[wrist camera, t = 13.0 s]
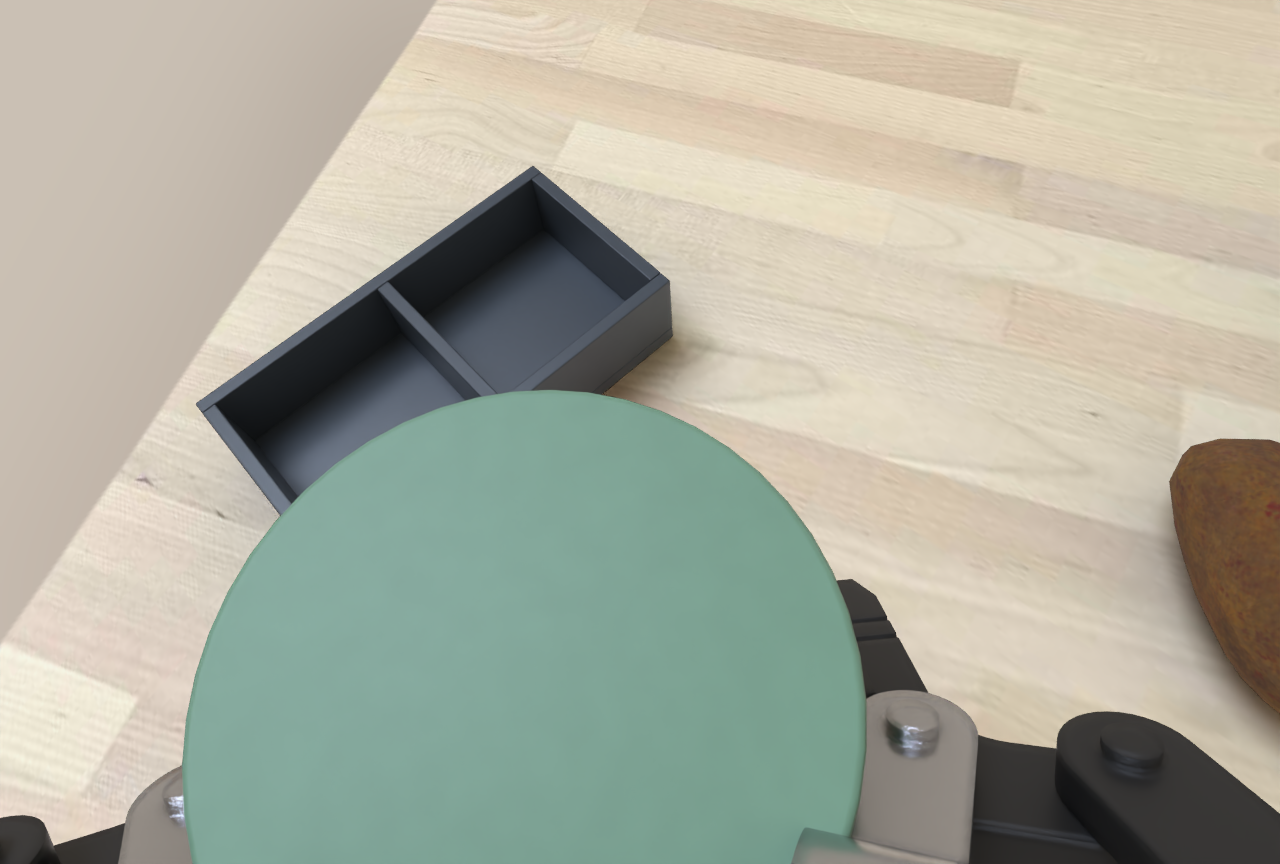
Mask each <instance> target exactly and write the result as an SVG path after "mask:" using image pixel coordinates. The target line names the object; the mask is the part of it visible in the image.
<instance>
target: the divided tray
mask: <svg viewBox="0 0 1280 864" xmlns="http://www.w3.org/2000/svg"><path fill="white" fill-rule="evenodd" d="M672 336H673V333H672V314H671V295H670V281H669V280H668V279H667V278H666V277H665V276H664V275H662V274H660V272H659V271H658V270H657V269H655V268H654V267H653V266H652V265H651V264H649V263H648V262H647V261H646V260H645V259H644V258H642V257H641V256H640V255H639V254H638V253H636V252H635V251H634V250H633V249H632V248H630V247H629V246H628V245H627V244H626V243H625V242H623V241H622V240H621V239H620V238H619V237H617V236H616V235H615V234H614V233H613V232H611V231H610V230H609V229H608V228H607V227H605V226H604V225H603V224H602V223H601V222H600V221H598V220H597V219H596V218H595V217H594V216H592V215H591V214H590V213H589V212H588V211H586V210H585V209H584V208H583V207H582V206H581V205H579V204H578V203H577V202H576V201H575V200H573V199H572V198H571V197H570V196H569V195H567V194H566V193H565V192H564V191H563V190H561V189H560V188H559V187H558V186H557V185H556V184H554V183H553V182H552V181H551V180H550V179H548V178H547V177H546V176H545V175H544V174H542V173H541V172H540V171H539V170H538V169H536V168H535V167H534V166H532V167H530V168H529V169H528V170H526V171H525V172H523V173H522V174H521V175H519V176H518V177H516V178H515V179H513V180H512V181H511V182H509V183H508V184H506V185H505V186H503V187H502V188H501V189H499V190H498V191H496V192H495V193H494V194H492V195H491V196H489V197H488V198H486V199H485V200H484V201H482V202H481V203H479V204H478V205H477V206H475V207H474V208H472V209H471V210H469V211H468V212H467V213H465V214H464V215H462V216H461V217H460V218H458V219H457V220H455V221H454V222H452V223H451V224H450V225H448V226H447V227H445V228H444V229H443V230H441V231H440V232H438V233H437V234H435V235H434V236H433V237H431V238H430V239H428V240H427V241H426V242H424V243H423V244H421V245H420V246H418V247H417V248H416V249H414V250H413V251H411V252H410V253H408V254H407V255H406V256H404V257H403V258H401V259H400V260H399V261H397V262H396V263H394V264H393V265H391V266H390V267H389V268H387V269H386V270H384V271H383V272H382V273H380V274H379V275H377V276H376V277H374V278H373V279H372V280H370V281H369V282H367V283H366V284H365V285H363V286H362V287H360V288H359V289H357V290H356V291H355V292H353V293H352V294H350V295H349V296H348V297H346V298H345V299H343V300H342V301H340V302H339V303H338V304H336V305H335V306H333V307H332V308H330V309H329V310H328V311H326V312H325V313H323V314H322V315H321V316H319V317H318V318H316V319H315V320H313V321H312V322H311V323H309V324H308V325H306V326H305V327H304V328H302V329H301V330H299V331H298V332H296V333H295V334H294V335H292V336H291V337H289V338H288V339H287V340H285V341H284V342H282V343H281V344H279V345H278V346H277V347H275V348H274V349H272V350H271V351H270V352H268V353H267V354H265V355H264V356H262V357H261V358H260V359H258V360H257V361H255V362H254V363H253V364H251V365H250V366H248V367H247V368H245V369H244V370H243V371H241V372H240V373H238V374H237V375H235V376H234V377H233V378H231V379H230V380H228V381H227V382H226V383H224V384H223V385H221V386H220V387H218V388H217V389H216V390H214V391H213V392H211V393H210V394H209V395H207V396H206V397H204V398H203V399H201V400H200V401H199V402H197V403H196V406H197V407H198V408H199V410H200V411H201V412H202V413H203V415H204V416H205V417H206V419H207V420H208V421H209V423H210V424H211V425H212V427H213V428H214V429H215V431H216V432H217V433H218V434H219V436H220V437H221V438H222V440H223V441H224V442H225V444H226V445H227V446H228V448H229V449H230V450H231V451H232V453H233V454H234V455H235V457H236V458H237V459H238V461H239V462H240V463H241V465H242V466H243V467H244V469H245V470H246V471H247V472H248V474H249V475H250V476H251V478H252V479H253V480H254V482H255V483H256V484H257V486H258V487H259V488H260V489H261V491H262V492H263V493H264V495H265V496H266V497H267V499H268V500H269V501H270V503H271V504H272V505H273V507H274V508H275V509H276V510H277V512H278V513H279V514H280V516H281V515H282V514H283V513H284V512H285V511H286V510H287V509H288V508H289V506H290V505H291V504H292V503H293V502H294V501H295V500H296V499H297V498H298V497H299V496H300V495H301V494H302V493H303V492H304V491H305V490H306V489H307V488H308V487H309V486H310V485H312V484H313V483H314V482H315V481H316V480H317V479H319V478H320V477H321V476H322V475H323V474H324V473H326V472H327V471H328V470H329V469H330V468H331V467H333V466H334V465H335V464H336V463H338V462H339V461H341V460H342V459H343V458H345V457H346V456H348V455H349V454H351V453H352V452H354V451H355V450H357V449H358V448H360V447H361V446H362V445H364V444H365V443H367V442H368V441H370V440H372V439H374V438H376V437H377V436H379V435H381V434H383V433H385V432H387V431H389V430H390V429H392V428H394V427H396V426H398V425H400V424H402V423H403V422H406V421H408V420H411V419H413V418H416V417H418V416H421V415H423V414H426V413H428V412H431V411H433V410H436V409H438V408H441V407H445V406H448V405H452V404H455V403H459V402H463V401H466V400H470V399H473V398H477V397H483V396H490V395H496V394H502V393H508V392H516V391H537V390H560V391H575V392H589V393H594V394H599V395H601V394H603V393H604V392H605V391H606V390H607V389H609V388H610V387H611V386H612V385H614V384H615V383H616V382H617V381H618V380H620V379H621V378H622V377H623V376H625V375H626V374H627V373H628V372H629V371H631V370H632V369H633V368H634V367H636V366H637V365H638V364H639V363H640V362H642V361H643V360H644V359H645V358H647V357H648V356H649V355H650V354H651V353H653V352H654V351H655V350H656V349H658V348H659V347H660V346H661V345H662V344H664V343H665V342H666V341H667V340H669V339H670V338H671V337H672Z"/></svg>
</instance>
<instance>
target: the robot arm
mask: <svg viewBox="0 0 1280 864" xmlns="http://www.w3.org/2000/svg"><path fill="white" fill-rule="evenodd" d="M837 583H838V586H839V588H840V591H841V593H842V596H843V598H844V601H845V603H846V606H847V608H848V611H849V614H850V618H851V621H852V625H853V629H854V633H855V637H856V641H857V644H858V648H859V652H860V656H861V663H862V671H863V679H864V686H865V694H866V702H867V752H866V760H865V768H864V776H863V783H862V791H861V799H860V804H859V808H858V811H857V815H856V819H855V823H854V827H853V830H852V834H851V837H849V836H844V835H840V834H835V833H831V832H826V831H821V830H817V829H812V828H807V827H806V828H804V829H803V831H802V833H801V835H800V837H799V840H798V842H797V845H796V849H795V852H794V855H793V858H792V862H791V864H1280V814H1279V813H1278V812H1277V811H1276V810H1275V809H1273V808H1272V807H1271V806H1270V805H1268V804H1267V803H1266V802H1265V801H1263V800H1262V799H1261V798H1260V797H1259V796H1257V795H1256V794H1255V793H1254V792H1252V791H1251V790H1250V789H1249V788H1247V787H1246V786H1245V785H1244V784H1243V783H1241V782H1240V781H1239V780H1238V779H1236V778H1235V777H1234V776H1233V775H1231V774H1230V773H1229V772H1228V771H1227V770H1225V769H1224V768H1223V767H1222V766H1220V765H1219V764H1218V763H1217V762H1215V761H1214V760H1213V759H1212V758H1211V757H1209V756H1208V755H1207V754H1206V753H1204V752H1203V751H1202V750H1201V749H1199V748H1198V747H1197V746H1196V745H1195V744H1193V743H1192V742H1191V741H1190V740H1188V739H1187V738H1185V737H1184V736H1183V735H1181V734H1180V733H1178V732H1176V731H1175V730H1173V729H1171V728H1169V727H1167V726H1165V725H1163V724H1161V723H1159V722H1156V721H1153V720H1150V719H1147V718H1145V717H1141V716H1137V715H1133V714H1127V713H1121V712H1093V713H1087V714H1083V715H1080V716H1077V717H1075V718H1073V719H1071V720H1069V721H1068V722H1067V723H1065V724H1064V725H1063V726H1062V728H1061V729H1060V731H1059V734H1058V737H1057V749H1055V748H1047V747H1040V746H1032V745H1024V744H1017V743H1009V742H1003V741H998V740H994V739H990V738H986V737H983V736H980V735H978V732H977V729H976V726H975V724H974V722H973V721H972V719H971V718H970V717H969V715H968V714H967V713H966V712H965V711H964V710H962V709H961V708H960V707H958V706H957V705H955V704H954V703H952V702H950V701H948V700H946V699H944V698H941V697H939V696H936V695H933V694H930V693H928V691H927V689H926V688H925V686H924V684H923V682H922V680H921V678H920V677H919V675H918V673H917V671H916V669H915V667H914V665H913V664H912V662H911V660H910V658H909V656H908V654H907V653H906V651H905V649H904V647H903V645H902V643H901V641H900V640H899V638H897V637H896V632H895V630H894V628H893V627H892V625H891V623H890V621H889V620H887V616H886V614H885V612H884V610H883V608H882V606H881V604H880V603H879V601H878V599H877V597H876V595H874V594H873V593H871V592H870V591H868V590H867V589H866V588H864V587H863V586H861V585H860V584H858V583H857V582H855V581H854V580H853V579H848V580H838V581H837ZM0 864H193V863H192V858H191V852H190V847H189V841H188V835H187V829H186V823H185V817H184V803H183V777H182V766H180V767H178V768H176V769H174V770H172V771H170V772H168V773H167V774H165V775H163V776H162V777H160V778H159V779H158V780H156V781H155V782H153V783H152V784H151V785H150V786H149V787H147V788H146V789H145V790H144V791H143V792H142V793H141V794H140V795H139V796H138V797H137V799H136V800H135V801H134V803H133V804H132V806H131V808H130V809H129V811H128V814H127V817H126V822H125V823H124V824H121V825H118V826H115V827H112V828H109V829H106V830H103V831H100V832H96V833H93V834H90V835H87V836H84V837H80V838H77V839H74V840H71V841H68V842H64V843H61V844H58V845H55V846H53V843H52V841H51V839H50V836H49V834H48V831H47V829H46V827H45V825H44V823H43V822H42V821H41V820H40V819H38V818H35V817H32V816H25V815H21V816H9V817H3V818H0Z"/></svg>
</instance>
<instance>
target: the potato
mask: <svg viewBox="0 0 1280 864" xmlns="http://www.w3.org/2000/svg"><path fill="white" fill-rule="evenodd" d="M1169 482H1170V491H1171V499H1172V507H1173V515H1174V524H1175V528H1176V532H1177V536H1178V539H1179V543H1180V547H1181V550H1182V554H1183V558H1184V561H1185V564H1186V567H1187V570H1188V573H1189V576H1190V579H1191V582H1192V585H1193V588H1194V591H1195V594H1196V596H1197V598H1198V600H1199V602H1200V605H1201V607H1202V609H1203V611H1204V613H1205V615H1206V617H1207V619H1208V621H1209V623H1210V625H1211V627H1212V629H1213V631H1214V633H1215V635H1216V637H1217V639H1218V641H1219V643H1220V645H1221V647H1222V649H1223V651H1224V653H1225V655H1226V656H1227V658H1228V659H1229V661H1230V662H1231V663H1232V665H1233V666H1234V668H1235V669H1236V671H1237V672H1238V674H1239V675H1240V676H1241V678H1242V679H1243V680H1244V681H1245V682H1246V683H1247V684H1248V685H1249V686H1250V687H1251V688H1252V689H1253V690H1254V691H1255V692H1256V693H1257V694H1258V695H1259V696H1260V697H1261V699H1262V700H1263V701H1264V702H1266V703H1267V704H1268V705H1269V706H1271V707H1272V708H1273V709H1274V710H1276V711H1277V712H1278V713H1279V714H1280V443H1278V442H1275V441H1272V440H1259V439H1217V440H1213V441H1209V442H1206V443H1202V444H1198V445H1194V446H1191V447H1190V448H1189V449H1188V450H1187V451H1186V452H1185V453H1184V454H1183V455H1182V457H1181V459H1180V461H1179V463H1178V465H1177V467H1176V469H1175V471H1174V473H1173V475H1172V477H1171V479H1170V481H1169Z"/></svg>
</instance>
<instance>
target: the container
mask: <svg viewBox="0 0 1280 864" xmlns="http://www.w3.org/2000/svg"><path fill="white" fill-rule="evenodd" d="M866 752H867V702H866V694H865V686H864V679H863V671H862V663H861V656H860V652H859V648H858V644H857V641H856V637H855V633H854V629H853V625H852V621H851V618H850V614H849V611H848V608H847V606H846V603H845V601H844V598H843V596H842V593H841V591H840V588H839V586H838V583H837V581H836V578H835V576H834V573H833V571H832V569H831V568H830V566H829V564H828V562H827V560H826V559H825V557H824V555H823V553H822V552H821V550H820V548H819V546H818V544H817V543H816V541H815V539H814V537H813V535H812V534H811V533H810V531H809V530H808V528H807V527H806V526H805V524H804V523H803V522H802V520H801V519H800V518H799V516H798V515H797V514H796V512H795V511H794V510H793V508H792V507H791V505H790V504H789V503H788V501H787V500H786V499H785V498H784V497H783V496H782V495H781V494H780V493H779V492H778V491H777V490H776V489H775V488H774V487H773V486H772V485H771V484H770V483H769V482H768V481H767V479H766V478H765V477H764V476H763V475H762V474H761V473H760V472H759V471H757V470H756V469H755V468H754V467H752V466H751V465H750V464H749V463H747V462H746V461H745V460H744V459H743V458H741V457H740V456H739V455H738V454H736V453H735V452H734V451H733V450H731V449H730V448H729V447H727V446H726V445H724V444H722V443H721V442H719V441H718V440H716V439H714V438H713V437H711V436H709V435H708V434H706V433H705V432H703V431H701V430H700V429H698V428H697V427H695V426H693V425H690V424H688V423H686V422H684V421H682V420H680V419H677V418H675V417H673V416H671V415H669V414H666V413H664V412H662V411H660V410H656V409H653V408H650V407H647V406H644V405H641V404H638V403H635V402H631V401H628V400H625V399H620V398H615V397H610V396H604V395H599V394H594V393H589V392H575V391H560V390H537V391H516V392H508V393H502V394H496V395H490V396H483V397H477V398H473V399H470V400H466V401H463V402H459V403H455V404H452V405H448V406H445V407H441V408H438V409H436V410H433V411H431V412H428V413H426V414H423V415H421V416H418V417H416V418H413V419H411V420H408V421H406V422H403V423H402V424H400V425H398V426H396V427H394V428H392V429H390V430H389V431H387V432H385V433H383V434H381V435H379V436H377V437H376V438H374V439H372V440H370V441H368V442H367V443H365V444H364V445H362V446H361V447H360V448H358V449H357V450H355V451H354V452H352V453H351V454H349V455H348V456H346V457H345V458H343V459H342V460H341V461H339V462H338V463H336V464H335V465H334V466H333V467H331V468H330V469H329V470H328V471H327V472H326V473H324V474H323V475H322V476H321V477H320V478H319V479H317V480H316V481H315V482H314V483H313V484H312V485H310V486H309V487H308V488H307V489H306V490H305V491H304V492H303V493H302V494H301V495H300V496H299V497H298V498H297V499H296V500H295V501H294V502H293V503H292V504H291V505H290V506H289V508H288V509H287V510H286V511H285V512H284V513H283V514H282V515H281V516H280V517H279V518H278V519H277V520H276V521H275V523H274V524H273V525H272V527H271V528H270V529H269V531H268V532H267V533H266V535H265V536H264V537H263V539H262V540H261V541H260V543H259V544H258V545H257V546H256V548H255V549H254V550H253V552H252V553H251V554H250V556H249V558H248V559H247V561H246V563H245V564H244V566H243V568H242V569H241V571H240V573H239V574H238V576H237V578H236V579H235V581H234V583H233V584H232V586H231V588H230V589H229V591H228V593H227V595H226V597H225V599H224V602H223V604H222V606H221V608H220V610H219V612H218V615H217V617H216V619H215V621H214V623H213V626H212V628H211V630H210V632H209V635H208V638H207V641H206V644H205V647H204V650H203V653H202V656H201V659H200V662H199V665H198V668H197V671H196V674H195V679H194V684H193V689H192V693H191V698H190V703H189V708H188V713H187V718H186V726H185V738H184V750H183V762H182V777H183V803H184V817H185V823H186V829H187V835H188V841H189V847H190V852H191V858H192V863H193V864H791V862H792V858H793V855H794V852H795V849H796V845H797V842H798V840H799V837H800V835H801V833H802V831H803V829H804V828H806V827H807V828H812V829H817V830H821V831H826V832H831V833H835V834H840V835H844V836H849V837H851V834H852V830H853V827H854V823H855V819H856V815H857V811H858V808H859V804H860V799H861V791H862V783H863V776H864V768H865V760H866Z"/></svg>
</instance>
